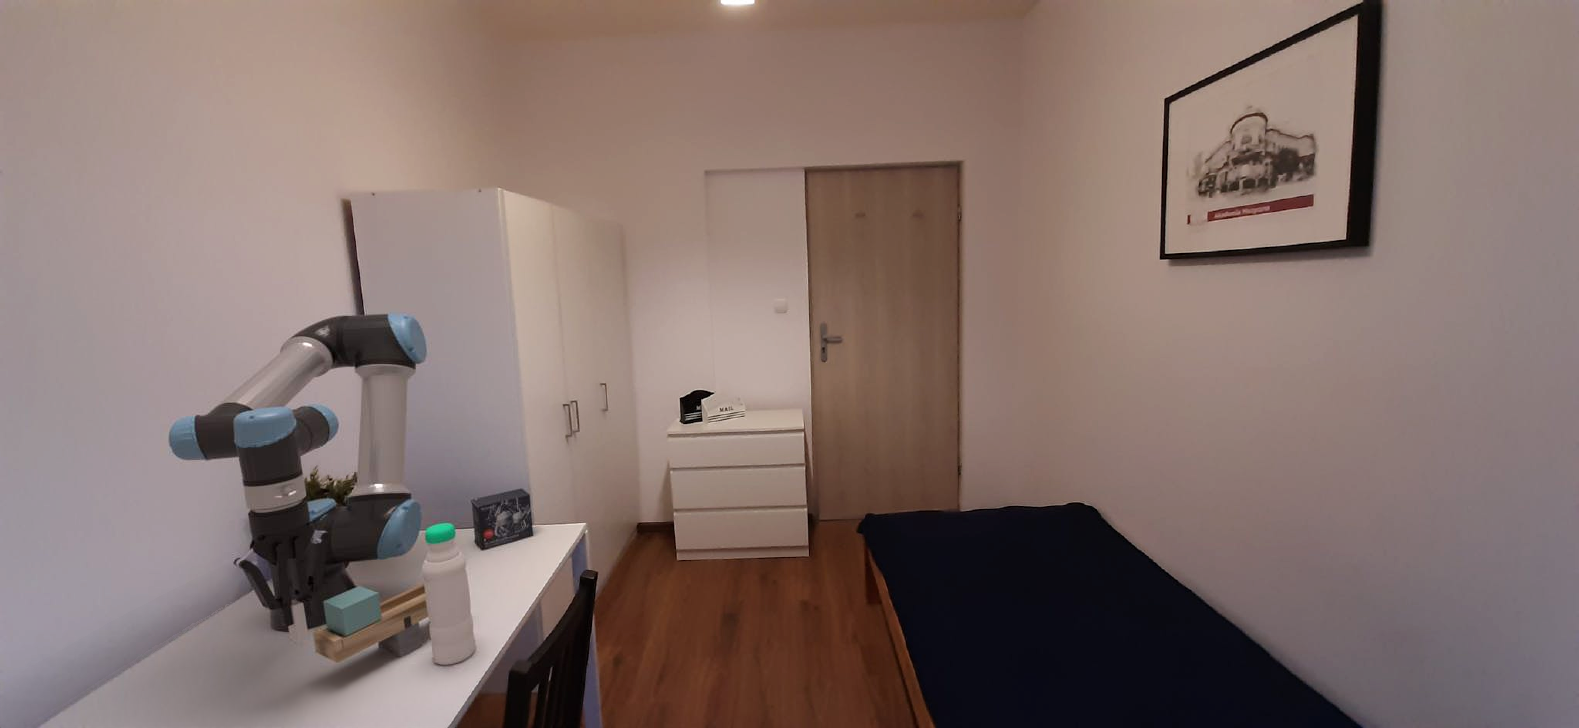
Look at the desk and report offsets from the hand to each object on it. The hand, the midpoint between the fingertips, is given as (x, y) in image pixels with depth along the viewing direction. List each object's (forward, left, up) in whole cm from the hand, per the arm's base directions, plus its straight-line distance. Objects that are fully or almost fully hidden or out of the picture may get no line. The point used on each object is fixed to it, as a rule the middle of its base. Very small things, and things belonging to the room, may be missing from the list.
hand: (299, 639), depth 105 cm
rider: (0, +8, -3) cm, 9 cm away
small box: (-24, +57, -11) cm, 63 cm away
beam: (0, +15, -10) cm, 19 cm away
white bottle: (+12, +18, -11) cm, 24 cm away
